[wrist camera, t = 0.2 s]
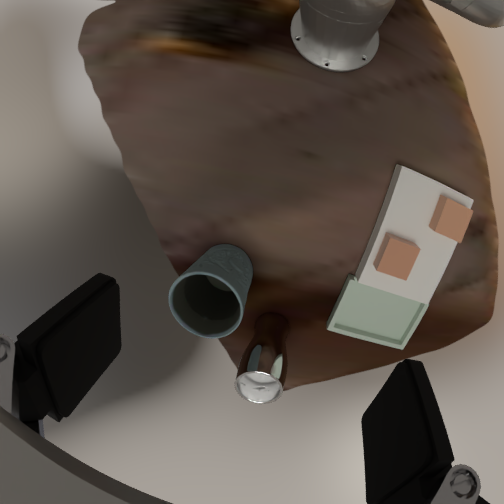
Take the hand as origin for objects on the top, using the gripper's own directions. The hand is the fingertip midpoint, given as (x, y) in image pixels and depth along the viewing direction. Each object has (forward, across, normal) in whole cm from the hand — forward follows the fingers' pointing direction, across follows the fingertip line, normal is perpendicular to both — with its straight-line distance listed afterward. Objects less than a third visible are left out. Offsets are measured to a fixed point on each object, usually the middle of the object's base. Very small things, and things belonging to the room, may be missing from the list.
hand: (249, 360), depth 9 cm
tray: (+36, -19, +16) cm, 44 cm away
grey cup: (+36, +7, +16) cm, 40 cm away
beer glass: (+36, -2, +24) cm, 44 cm away
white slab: (+36, -19, +2) cm, 41 cm away
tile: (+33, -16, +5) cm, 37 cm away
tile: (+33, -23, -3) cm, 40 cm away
